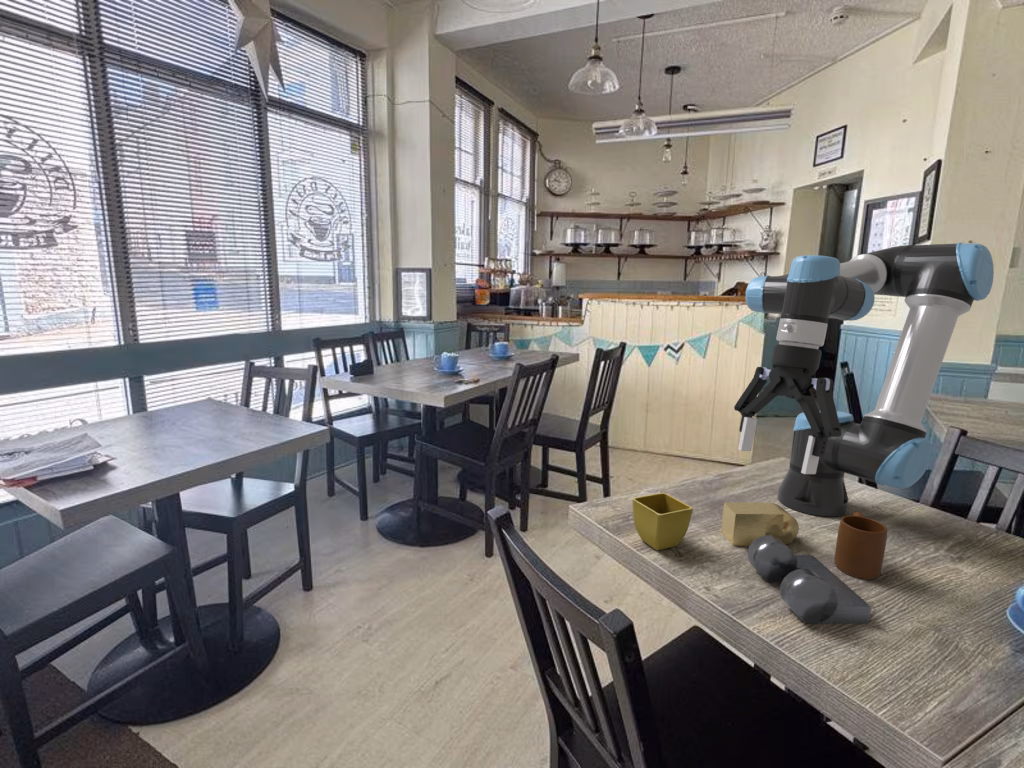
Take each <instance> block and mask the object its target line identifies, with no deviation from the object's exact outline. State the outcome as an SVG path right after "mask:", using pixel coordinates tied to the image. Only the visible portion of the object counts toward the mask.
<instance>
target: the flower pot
mask: <svg viewBox="0 0 1024 768" xmlns="http://www.w3.org/2000/svg"><path fill="white" fill-rule="evenodd" d="M631 500H632V516H633V517H632V518H633V523H634V527H635V529H636V532H637V533H638V536H639V538H640V539H641V541H643V542H644V543H645V544H647V545H648V546H649V547H651V548H653V549H654V550H656V551H661V550H665V549H666V550H667V549H670V548H674V547H676V546H678V545H679V543H681V542H682V540H683V539H684V538H685V536H686V534H687V532H688V529H689V526H690V523H691V519H692V515H693V511H694V510H693V509H694V507H692V506H690V505H689V504H686V503H685V502H683V501H681V500H679V499H677V498H676V497H673V496H672V495H670V494H668V493H666V492H660V493H659V492H658V493H653V494H648V495H641V496H636V497H633V498H631Z"/></svg>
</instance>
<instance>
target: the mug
mask: <svg viewBox="0 0 1024 768" xmlns="http://www.w3.org/2000/svg"><path fill="white" fill-rule="evenodd" d="M887 540H888V528H887V526H886V524H885V525H884V523H882V522H880V521H877V520H875V519H872V518H871V517H865V516H864V515H863V513H862V512H860V511H854V512H853V513H852V515H843V516H842V517H841V519H840V522H839V525H838V530H837V537H836V544H835V550H834V551H835V552H834V557H833V559H834V560H833V562H834V564H835V567H836V568H837V569H838V570H839V571H841V572H842V573H844V574H847V575H849V576H851V577H854V578H858V579H864V580H874V579H876V578H879V576H880V575H881V573H882V568H883V563H884V558H885V552H886V545H887Z"/></svg>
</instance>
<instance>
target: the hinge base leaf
mask: <svg viewBox="0 0 1024 768" xmlns="http://www.w3.org/2000/svg"><path fill="white" fill-rule="evenodd" d="M747 560H748V562H749V564H751V566H752V567H753V568H754V569H755V570H756V571H757V573H758V574H759V575H760V576H761V577H762V578H763V579H764V580H765V581H768V582H769V583H773V584H774V583H778V584H779V583H780V586H779V594H780V597H781V600H782V601H784V603H785V604H786V605H787V607H789V609H791V611H792V612H793V613H794V615H795V616H796V617H797V618H799V620H801V621H802V622H804V623H807V624H811V625H812V624H813V625H814V624H869V623H870V622H869V621H870V614H871V608H872V606H871V605H870V604H869V602H867V601H866V600H864V599H863V598H862V597H861V596H860V595H859V594H857V593H856V592H855V591H854V590H853V589H852V588H851V587H850V586H848V585H847V584H846V583H845V582H844V581H843V580H842V579H840V578H839V577H838V576H837V575H836V574H834V573H835V572H832V571H831V569H829V568H828V567H827V566H826V565H825V564H823V563H822V562H821V561H820V560H819V559H818V558H817V557H815V556H814V555H813V554H795V552H793V550H792V549H790V548H789V547H788V546H787V544H786V545H785V544H784V543H783V542H782V541H781V540H779V539H778V538H777V537H774V536H771V535H766V536H761V537H759V538H757V539H756V540H754V541H753V542H752V543H751V545H750V546H749V547H748V550H747Z"/></svg>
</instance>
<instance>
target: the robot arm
mask: <svg viewBox="0 0 1024 768" xmlns="http://www.w3.org/2000/svg"><path fill="white" fill-rule="evenodd" d="M992 257H993V256H992V254H991V251H990V250H989V249H988V247H986V246H985V245H984V244H982V243H971V242H970V243H966V242H965V243H964V242H957V243H937V244H933V243H932V244H906V245H899V246H897V245H896V246H893V247H887V248H883V249H879V250H875V251H871V252H866V253H861V254H859V255H856V256H853V258H851V259H849V260H848V261H845V262H840V260H839V259H838V258H837V257H833V256H826V255H820V254H819V255H817V254H816V255H813V254H810V255H809V254H806V255H805V254H804V255H799V256H797V257H795V258H794V259H793V260H792V262H791V266H790V269H789V273H788V274H784V275H783V274H782V275H765V276H762V275H761V276H756V277H754V278H752V279H751V280H750V282H748V284H747V287H746V289H745V304H746V306H747V307H748V308H749V310H751V311H752V312H755V313H756V312H757V313H762V314H764V315H765V314H766V315H767V314H777V315H780V319H779V324H778V328H777V332H776V337H775V340H776V341H778V344H777V343H776V344H775V345H774V346H773V350H772V357H771V363H772V368H770V367H765V366H756V369H755V371H754V375H753V378H752V379H751V381H750V382H749V384H748V385H747V387H746V388H745V390H744V391H743V392H742V394H741V395H740V397H739V398H738V400H737V401H736V403H735V405H734V407H733V408H734V411H736V412H738V413H740V415H741V418H740V425H739V428H738V429H739V430H738V431H739V432H740V433H741V434H740V438H739V442H738V443H739V444H738V448H737V450H738V451H740V452H751V451H752V449H753V448H752V447H753V444H754V440H755V439H754V437H755V433H756V428H757V423H758V417H757V415H756V414H758V413H759V412H760V411H761V410H762V409H764V407H766V406H767V405H768V404H769V403H770V402H771V401H772V400H774V399H775V398H777V397H778V396H780V397H786V398H789V399H795V401H796V402H797V403H798V404H799V405H800V408H801V410H802V412H801V413H799V414H798V415H797V416H796V418H795V422H794V426H793V429H792V431H793V435H792V444H791V450H790V451H791V452H790V458H789V459H790V461H789V468H788V470H787V472H786V473H785V476H784V478H783V480H782V482H781V484H780V485H779V487H778V490H777V500H778V501H779V502H780V503H781V504H782V505H783V506H786V507H788V508H789V509H792V510H794V511H798V512H801V513H804V514H808V515H813V516H819V517H839V516H840V517H841V516H845V515H846V514H847V513H848V512H849V505H850V504H849V503H850V501H849V496H848V493H847V488H846V483H845V474H848V475H850V476H853V477H854V476H855V477H856V478H860V479H864V480H866V481H869V482H873V483H876V484H878V485H880V486H887V487H891V488H895V489H900V490H901V489H907V488H910V487H911V486H913V485H914V484H916V483H917V482H918V481H919V480H920V479H921V478H922V476H923V475H924V474H925V472H926V471H927V469H928V467H929V465H930V463H931V460H932V457H933V456H932V454H933V445H932V442H931V441H930V440H928V439H927V438H926V436H927V434H928V433H927V432H928V431H927V430H926V427H924V425H923V423H922V420H923V418H924V415H925V412H926V410H927V406H928V403H929V401H930V398H931V395H932V392H933V390H934V388H935V387H934V386H935V383H936V381H937V378H938V376H939V373H940V370H941V367H942V364H943V360H944V358H945V356H946V352H947V350H948V346H949V343H950V341H951V338H952V335H953V333H954V330H955V327H956V324H957V321H958V318H959V317H960V316H963V315H964V314H967V313H968V312H970V311H971V309H972V305H973V302H974V301H976V302H977V301H978V302H979V301H982V300H985V299H986V298H987V297H988V295H989V294H990V293H991V290H992V287H993V283H994V273H995V272H994V263H993V262H994V261H993V258H992ZM876 295H877V296H886V297H887V296H891V297H898V298H899V297H901V298H902V297H903V298H904V303H905V304H906V305H907V307H908V308H909V310H908V313H907V316H906V319H905V323H904V324H903V327H902V330H901V333H900V335H899V339H898V342H897V345H896V347H895V349H894V353H893V356H892V360H891V362H890V364H889V368H888V370H887V374H886V375H885V380H884V382H883V385H882V388H881V390H880V394H879V396H878V399H877V402H876V404H875V408H874V409H873V411H870V412H867V413H866V414H864V415H863V417H862V420H861V423H857V422H854V419H855V418H854V416H853V414H851V413H849V412H845V411H838V410H837V407H836V404H835V399H834V395H833V387H834V385H833V384H834V380H833V379H832V378H828V377H818V378H816V372H817V370H818V369H819V367H820V363H821V358H822V353H823V352H822V349H819V348H820V347H823V346H824V344H825V340H826V335H827V330H828V324H829V320H830V319H835V320H836V319H837V320H839V321H845V322H847V321H849V322H851V321H857V320H859V319H862V318H864V317H865V316H867V315H868V314H869V313H870V312H871V310H872V308H873V307H874V304H875V296H876ZM768 380H770V382H769V383H768V384H767V381H768ZM766 384H767V385H766ZM765 385H766V386H765ZM764 386H765V387H764ZM813 388H814V390H815V395H816V398H817V399H816V398H815V395H814V394H813V392H812V389H813ZM762 389H763V391H762ZM815 400H817V402H815ZM816 403H818V405H817V404H816Z"/></svg>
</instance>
